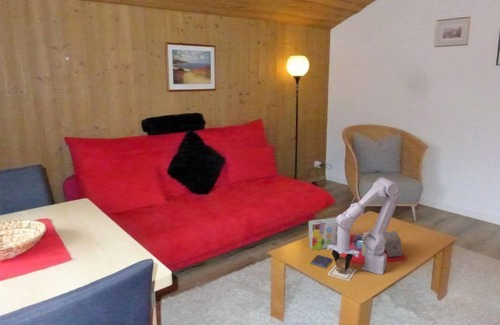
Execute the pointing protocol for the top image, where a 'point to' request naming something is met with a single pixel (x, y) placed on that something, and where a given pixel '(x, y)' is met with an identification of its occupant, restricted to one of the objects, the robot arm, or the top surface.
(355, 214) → the robot arm
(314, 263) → the ink pad
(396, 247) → the incense holder
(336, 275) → the marked card
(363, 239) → the skincare box
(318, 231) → the snack box
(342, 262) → the walnut stamp
